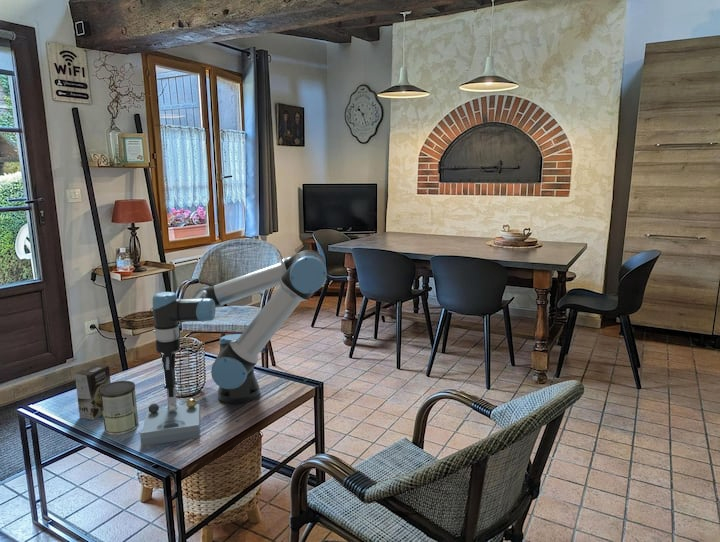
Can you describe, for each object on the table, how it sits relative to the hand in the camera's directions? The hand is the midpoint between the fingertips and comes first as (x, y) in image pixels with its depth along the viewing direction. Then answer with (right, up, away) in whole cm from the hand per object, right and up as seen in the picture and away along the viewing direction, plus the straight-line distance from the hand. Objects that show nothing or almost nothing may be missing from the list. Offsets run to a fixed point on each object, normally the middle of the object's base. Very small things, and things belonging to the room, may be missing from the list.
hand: (172, 404), depth 174 cm
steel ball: (+1, 0, -3) cm, 4 cm away
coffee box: (-27, -4, +2) cm, 27 cm away
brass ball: (+7, 0, 0) cm, 7 cm away
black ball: (-5, -1, -4) cm, 6 cm away
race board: (+3, -6, -8) cm, 10 cm away
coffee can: (-14, -6, -8) cm, 17 cm away
